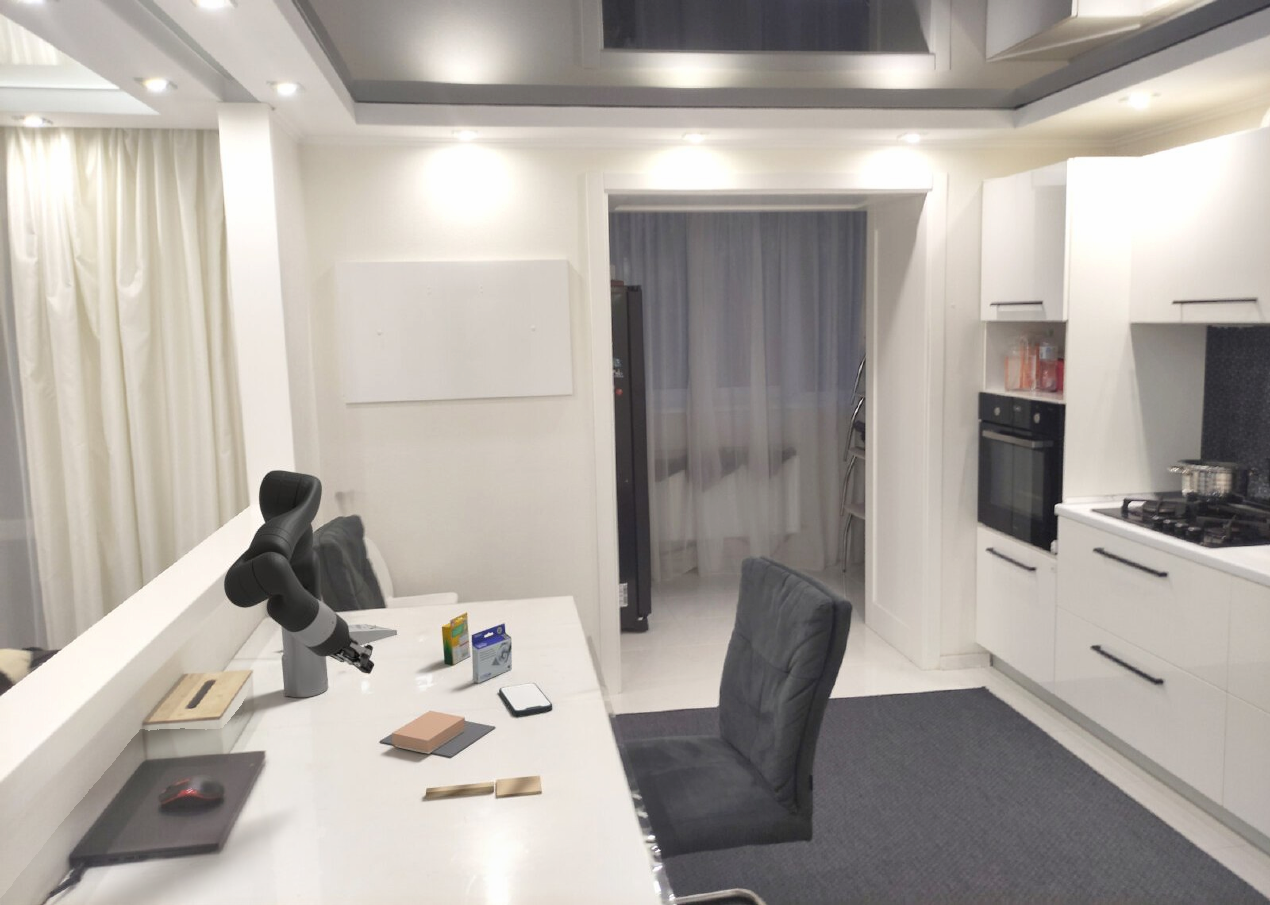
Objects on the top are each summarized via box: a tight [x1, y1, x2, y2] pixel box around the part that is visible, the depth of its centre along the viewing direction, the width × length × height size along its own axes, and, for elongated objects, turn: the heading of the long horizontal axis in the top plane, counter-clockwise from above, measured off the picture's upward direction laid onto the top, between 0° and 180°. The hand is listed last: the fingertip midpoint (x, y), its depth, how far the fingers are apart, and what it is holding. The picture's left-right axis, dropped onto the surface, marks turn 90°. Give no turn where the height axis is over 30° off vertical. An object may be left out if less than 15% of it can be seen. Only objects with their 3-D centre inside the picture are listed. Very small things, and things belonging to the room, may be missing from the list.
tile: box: [391, 710, 466, 755], centre depth 197 cm, size 9×3×12 cm
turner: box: [425, 775, 543, 800], centre depth 175 cm, size 20×6×1 cm, turn 98°
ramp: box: [348, 623, 398, 646], centre depth 260 cm, size 28×16×5 cm, turn 113°
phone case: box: [498, 682, 553, 718], centre depth 216 cm, size 9×2×16 cm
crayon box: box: [441, 612, 471, 666], centre depth 243 cm, size 7×3×12 cm, turn 154°
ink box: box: [471, 622, 513, 684], centre depth 231 cm, size 12×2×12 cm, turn 143°
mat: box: [379, 720, 496, 758], centre depth 199 cm, size 18×15×1 cm
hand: (369, 668), depth 183 cm, fingers closed
